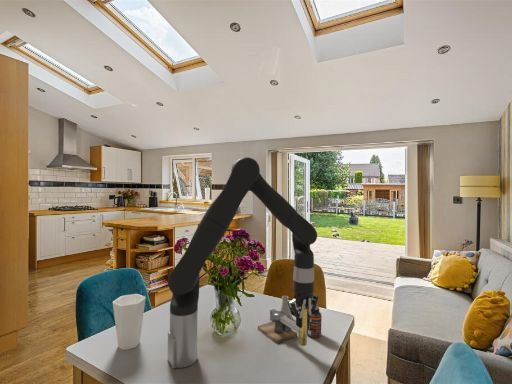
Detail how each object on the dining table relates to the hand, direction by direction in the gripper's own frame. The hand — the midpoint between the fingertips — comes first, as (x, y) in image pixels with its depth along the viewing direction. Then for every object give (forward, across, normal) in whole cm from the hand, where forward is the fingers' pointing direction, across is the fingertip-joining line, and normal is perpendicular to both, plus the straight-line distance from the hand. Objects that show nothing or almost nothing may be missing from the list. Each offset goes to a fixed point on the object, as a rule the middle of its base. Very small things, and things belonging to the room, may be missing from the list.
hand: (303, 325), depth 100 cm
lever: (+7, 0, +9) cm, 11 cm away
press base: (+10, 0, +16) cm, 18 cm away
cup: (+10, -52, +39) cm, 66 cm away
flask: (+10, +11, +23) cm, 27 cm away
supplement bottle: (+10, +12, +6) cm, 17 cm away
